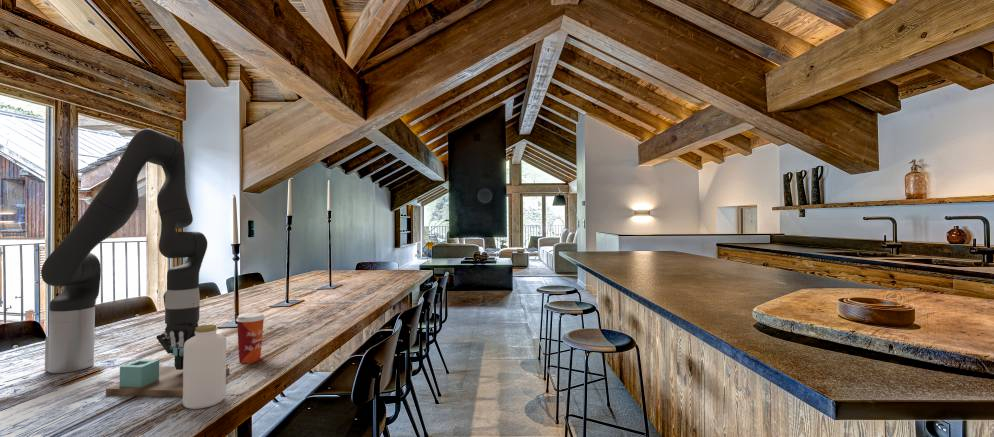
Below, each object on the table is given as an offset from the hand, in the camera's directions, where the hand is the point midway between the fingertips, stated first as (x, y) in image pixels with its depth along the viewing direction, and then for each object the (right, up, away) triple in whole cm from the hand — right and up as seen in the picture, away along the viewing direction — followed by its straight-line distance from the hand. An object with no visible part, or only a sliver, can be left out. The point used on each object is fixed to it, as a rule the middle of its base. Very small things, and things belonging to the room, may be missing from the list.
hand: (181, 368), depth 113 cm
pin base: (0, -3, -3) cm, 4 cm away
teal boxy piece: (-5, -1, -7) cm, 9 cm away
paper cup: (+10, -3, +15) cm, 18 cm away
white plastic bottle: (+17, -3, -15) cm, 23 cm away
